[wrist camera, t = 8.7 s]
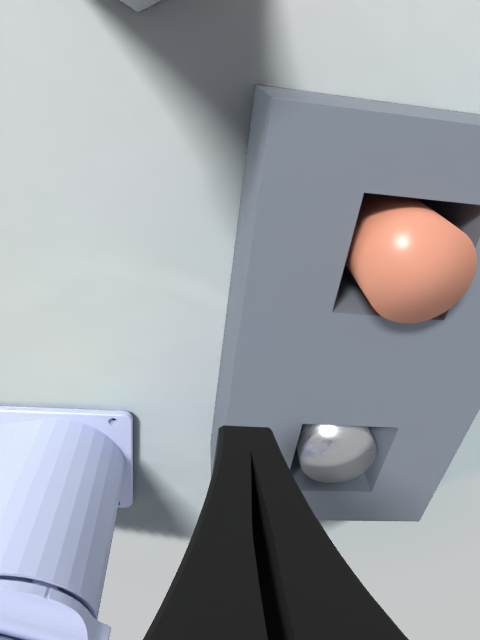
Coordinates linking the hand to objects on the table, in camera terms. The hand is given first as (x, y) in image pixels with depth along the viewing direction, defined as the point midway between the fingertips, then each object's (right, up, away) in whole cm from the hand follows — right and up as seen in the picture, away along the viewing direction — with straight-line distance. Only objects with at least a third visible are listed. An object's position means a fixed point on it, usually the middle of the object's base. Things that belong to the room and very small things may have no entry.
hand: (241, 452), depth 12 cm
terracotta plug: (+6, +7, +6) cm, 11 cm away
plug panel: (+5, +4, +10) cm, 12 cm away
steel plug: (+4, 0, +13) cm, 13 cm away
